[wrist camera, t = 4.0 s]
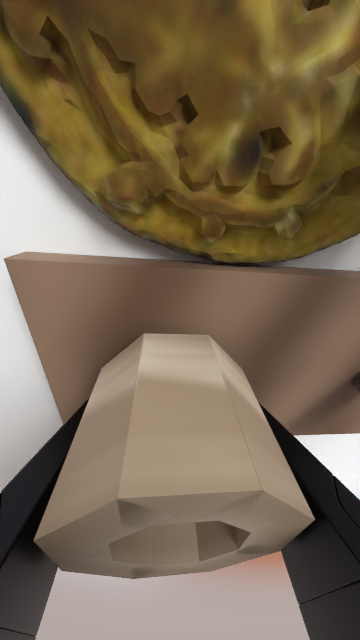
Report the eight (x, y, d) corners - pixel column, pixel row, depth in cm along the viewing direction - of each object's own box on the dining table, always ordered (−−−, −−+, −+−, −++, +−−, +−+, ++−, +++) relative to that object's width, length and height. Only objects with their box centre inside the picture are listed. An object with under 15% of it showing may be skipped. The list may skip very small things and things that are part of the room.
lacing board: (496, 279, 10) (536, 287, 9) (373, 417, 15) (389, 432, 14) (25, 251, 8) (3, 258, 7) (77, 423, 13) (69, 442, 12)
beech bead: (252, 335, 8) (355, 484, 4) (224, 426, 11) (262, 566, 7) (95, 332, 7) (-1, 504, 3) (111, 429, 10) (74, 584, 6)
